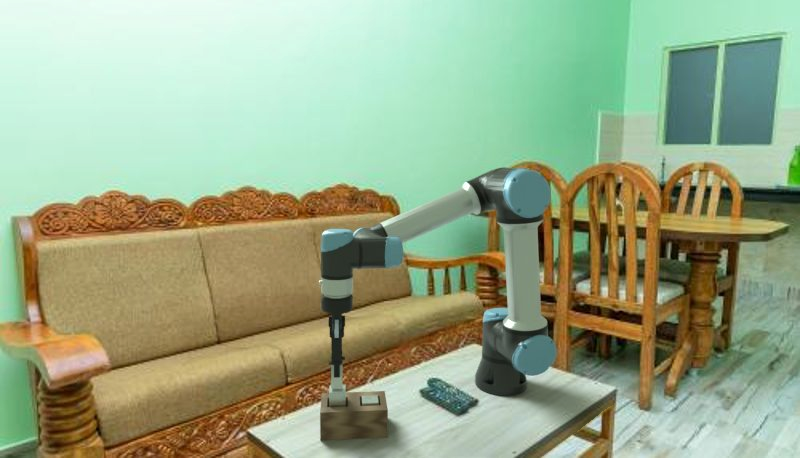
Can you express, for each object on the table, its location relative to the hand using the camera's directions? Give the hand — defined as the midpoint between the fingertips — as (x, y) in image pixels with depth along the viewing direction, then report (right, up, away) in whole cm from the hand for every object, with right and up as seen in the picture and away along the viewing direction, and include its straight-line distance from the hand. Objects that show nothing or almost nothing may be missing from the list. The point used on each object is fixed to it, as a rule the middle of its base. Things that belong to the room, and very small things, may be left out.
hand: (336, 387), depth 127 cm
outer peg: (0, -6, +1) cm, 7 cm away
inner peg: (+8, -9, +2) cm, 13 cm away
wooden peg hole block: (+4, -11, +2) cm, 12 cm away
